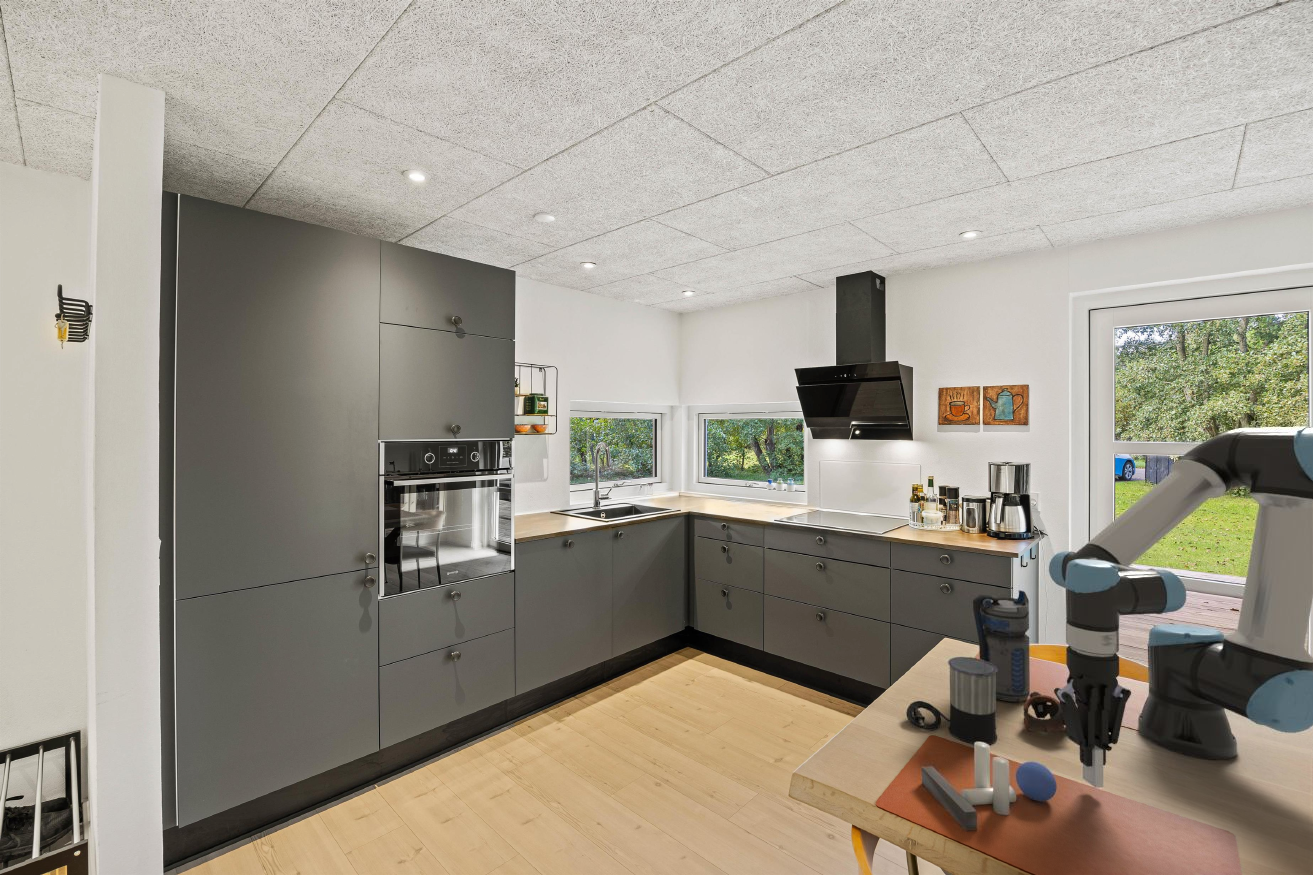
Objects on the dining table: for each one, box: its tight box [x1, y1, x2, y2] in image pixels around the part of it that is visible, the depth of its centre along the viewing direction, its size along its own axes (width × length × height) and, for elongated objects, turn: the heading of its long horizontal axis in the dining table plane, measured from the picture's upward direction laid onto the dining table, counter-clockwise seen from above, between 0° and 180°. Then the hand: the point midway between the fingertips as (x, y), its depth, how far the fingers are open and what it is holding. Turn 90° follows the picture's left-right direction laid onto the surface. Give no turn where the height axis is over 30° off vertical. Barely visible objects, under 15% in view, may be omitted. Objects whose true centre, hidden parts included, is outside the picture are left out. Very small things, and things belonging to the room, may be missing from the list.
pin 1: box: [973, 742, 991, 789], centre depth 106 cm, size 2×2×8 cm
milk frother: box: [905, 656, 998, 745], centre depth 128 cm, size 14×16×15 cm
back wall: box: [921, 765, 978, 832], centre depth 103 cm, size 2×13×3 cm, turn 5°
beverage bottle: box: [972, 590, 1031, 703], centre depth 144 cm, size 10×13×25 cm
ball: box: [1015, 761, 1058, 802], centre depth 104 cm, size 6×6×6 cm
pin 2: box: [992, 756, 1011, 816], centre depth 101 cm, size 2×2×8 cm
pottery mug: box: [1022, 691, 1067, 733], centre depth 128 cm, size 12×10×8 cm
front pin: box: [960, 785, 1017, 806], centre depth 103 cm, size 2×2×8 cm
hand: (1092, 782), depth 105 cm, fingers closed
